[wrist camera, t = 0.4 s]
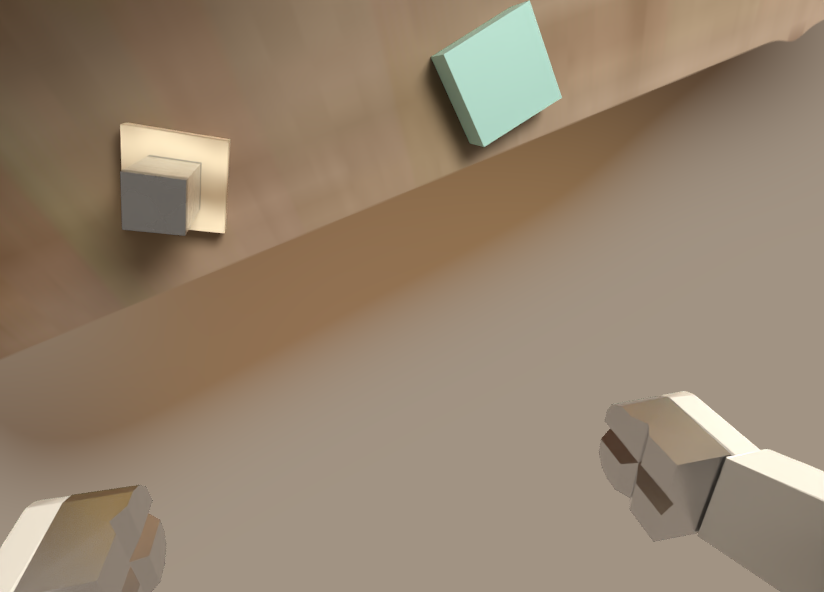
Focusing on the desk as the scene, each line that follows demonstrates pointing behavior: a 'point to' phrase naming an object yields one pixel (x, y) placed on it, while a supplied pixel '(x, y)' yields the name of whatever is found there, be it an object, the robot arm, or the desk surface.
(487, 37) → the stand
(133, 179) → the block
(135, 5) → the desk surface
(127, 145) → the stand
